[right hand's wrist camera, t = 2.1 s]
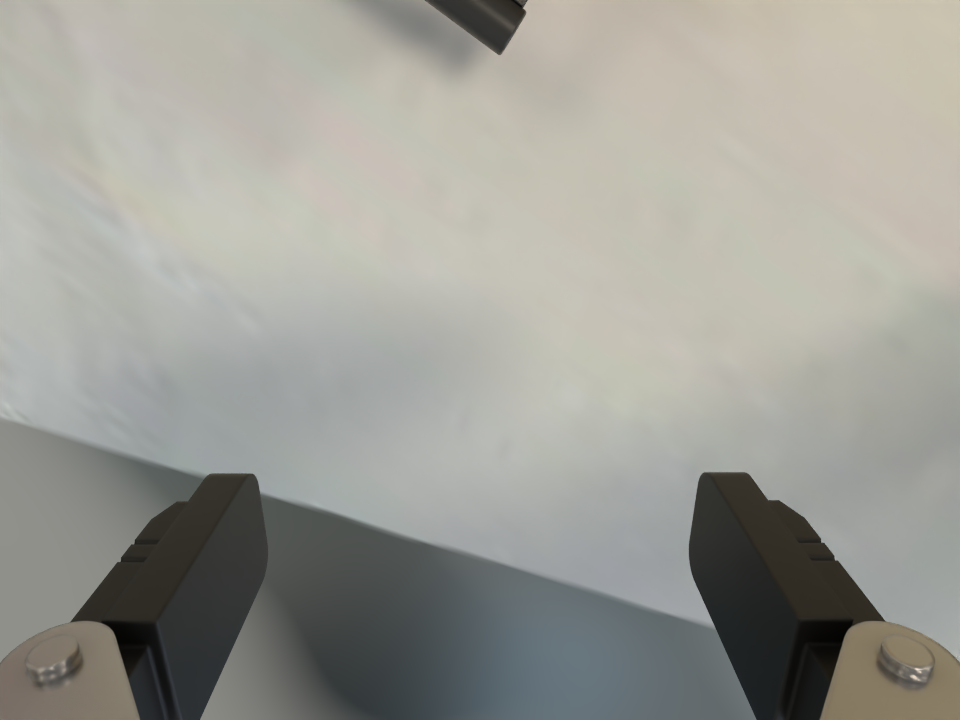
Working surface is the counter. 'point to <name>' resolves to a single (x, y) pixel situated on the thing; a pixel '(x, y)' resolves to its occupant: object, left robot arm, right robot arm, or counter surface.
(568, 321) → the counter surface
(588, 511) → the counter surface
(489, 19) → the drawer
